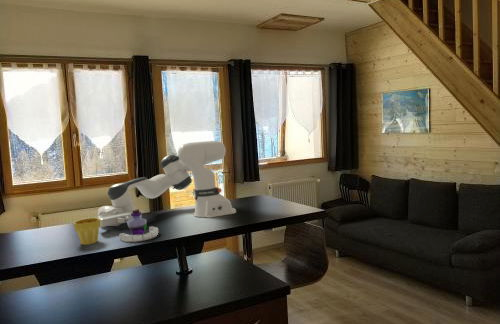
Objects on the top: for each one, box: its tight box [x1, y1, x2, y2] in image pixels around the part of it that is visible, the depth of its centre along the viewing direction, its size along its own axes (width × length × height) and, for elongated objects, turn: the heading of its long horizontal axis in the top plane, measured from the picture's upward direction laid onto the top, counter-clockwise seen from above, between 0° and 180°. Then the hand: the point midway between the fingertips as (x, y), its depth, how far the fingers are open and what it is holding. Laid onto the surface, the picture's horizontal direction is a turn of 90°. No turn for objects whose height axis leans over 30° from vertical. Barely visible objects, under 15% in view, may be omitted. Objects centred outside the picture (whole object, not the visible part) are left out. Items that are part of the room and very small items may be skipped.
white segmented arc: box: [118, 226, 159, 243], centre depth 177 cm, size 11×16×2 cm
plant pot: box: [73, 217, 101, 246], centre depth 174 cm, size 10×10×10 cm
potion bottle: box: [126, 208, 147, 235], centre depth 180 cm, size 9×9×12 cm
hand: (126, 220), depth 188 cm, fingers closed
